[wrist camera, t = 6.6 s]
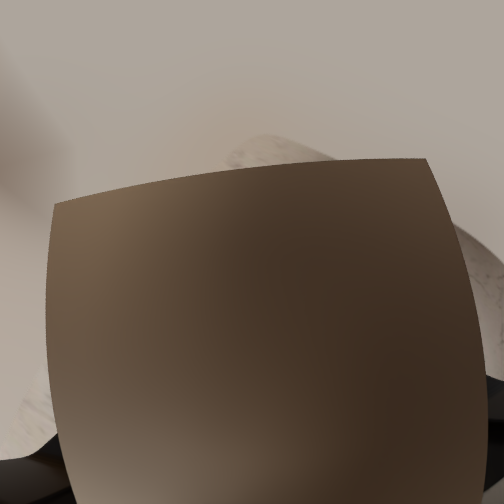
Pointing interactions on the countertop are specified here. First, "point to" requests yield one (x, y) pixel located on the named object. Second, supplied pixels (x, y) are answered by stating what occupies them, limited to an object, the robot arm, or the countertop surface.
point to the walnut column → (267, 340)
